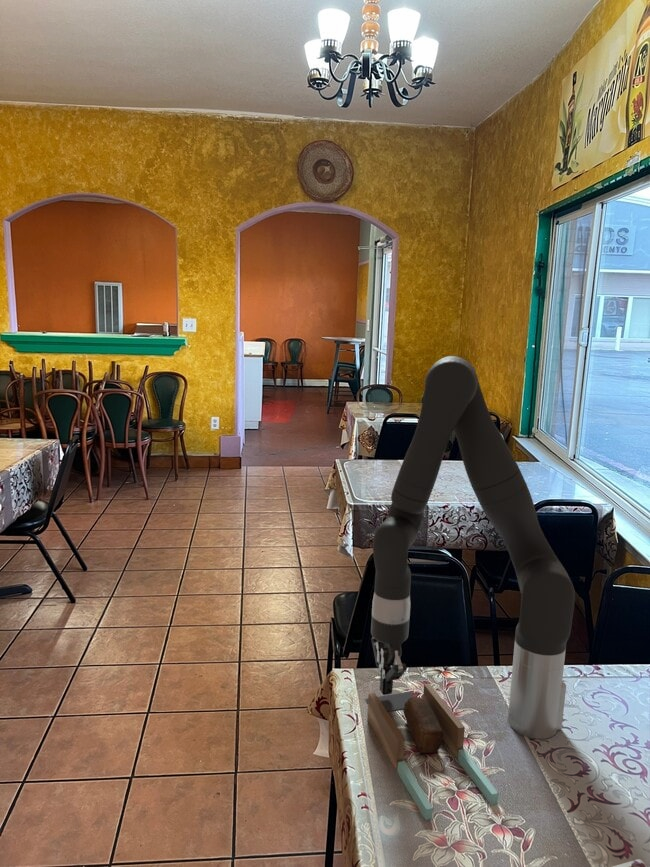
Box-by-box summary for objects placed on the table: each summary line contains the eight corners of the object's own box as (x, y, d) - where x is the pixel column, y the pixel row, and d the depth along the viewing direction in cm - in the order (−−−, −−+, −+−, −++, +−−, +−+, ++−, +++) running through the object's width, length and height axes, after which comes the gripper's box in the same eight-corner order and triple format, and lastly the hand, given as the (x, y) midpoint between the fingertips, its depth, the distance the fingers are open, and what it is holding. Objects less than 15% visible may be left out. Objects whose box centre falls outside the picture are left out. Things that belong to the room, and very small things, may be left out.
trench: (427, 710, 128) (429, 683, 127) (462, 756, 115) (464, 727, 114) (367, 721, 124) (368, 693, 123) (396, 770, 111) (397, 739, 110)
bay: (463, 758, 115) (464, 748, 114) (497, 803, 104) (498, 793, 104) (397, 772, 111) (397, 762, 110) (425, 820, 100) (426, 809, 100)
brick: (440, 754, 115) (444, 731, 114) (419, 754, 115) (423, 732, 114) (421, 714, 126) (425, 693, 124) (402, 715, 125) (405, 694, 124)
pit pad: (409, 692, 134) (409, 691, 134) (420, 706, 129) (420, 705, 129) (364, 700, 131) (364, 698, 131) (373, 714, 126) (373, 713, 126)
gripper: (422, 627, 123) (416, 708, 126) (394, 597, 135) (389, 672, 138) (386, 632, 120) (381, 714, 124) (361, 601, 133) (357, 677, 136)
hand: (385, 692), depth 131 cm, fingers closed
